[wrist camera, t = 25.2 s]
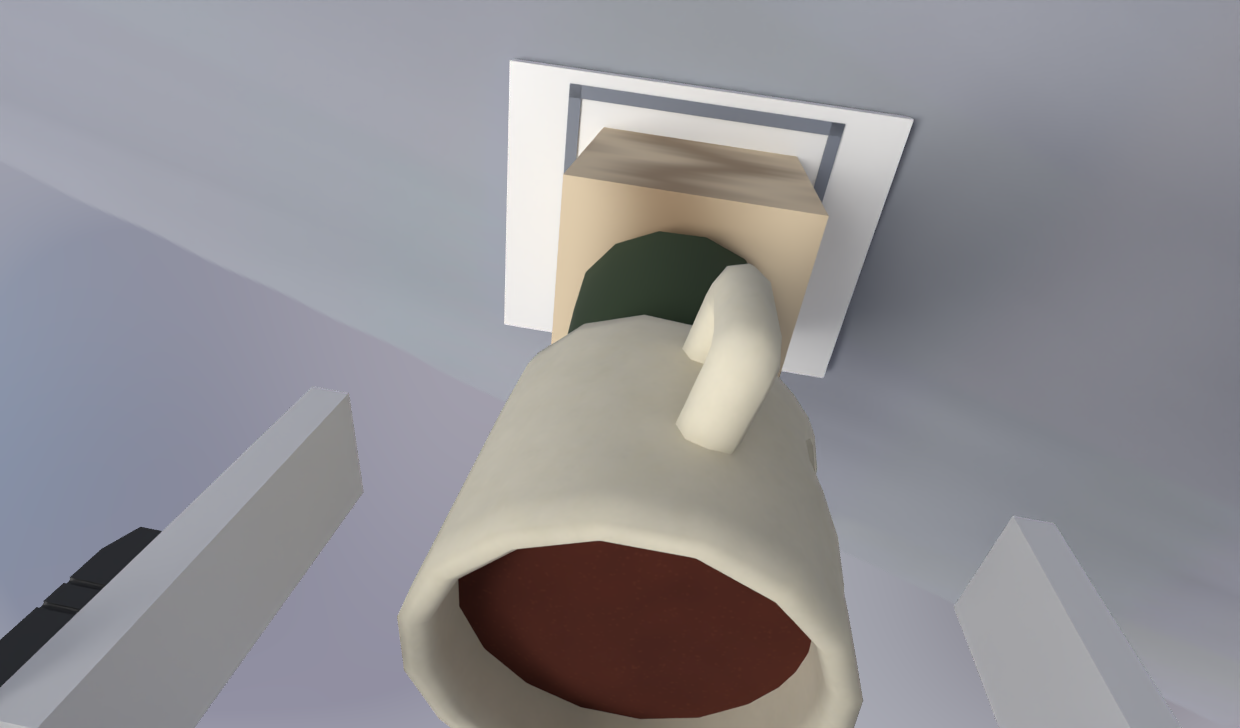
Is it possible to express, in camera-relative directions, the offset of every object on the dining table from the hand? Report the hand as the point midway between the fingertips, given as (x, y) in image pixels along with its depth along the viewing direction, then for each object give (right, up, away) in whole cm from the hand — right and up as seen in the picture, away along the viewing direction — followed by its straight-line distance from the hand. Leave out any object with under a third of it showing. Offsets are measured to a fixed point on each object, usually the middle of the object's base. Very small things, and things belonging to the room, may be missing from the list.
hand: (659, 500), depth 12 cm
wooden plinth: (+2, +8, +15) cm, 17 cm away
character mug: (+1, +4, +8) cm, 9 cm away
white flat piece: (+2, +9, +15) cm, 18 cm away
